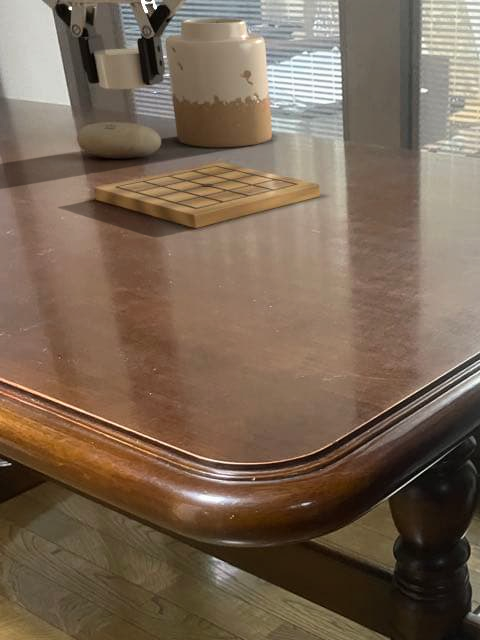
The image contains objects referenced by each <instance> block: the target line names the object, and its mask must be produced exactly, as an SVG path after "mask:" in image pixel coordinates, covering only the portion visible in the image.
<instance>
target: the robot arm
mask: <svg viewBox="0 0 480 640" xmlns="http://www.w3.org/2000/svg"><path fill="white" fill-rule="evenodd" d="M41 1H42V2H43V3H44V4H45V5H47V6H48V8H50V9H51V11H53V12H55V13H56V15H57V17H59V18H60V20H61V21H62V22H63V23H64V24H65V25H66V26H67V27H68V28H69V29H70V32H71V34H72V36H74V37H75V38H77V40H78V47H79V51H80V56H81V62H82V68H83V71H84V72H85V73H86V77H87V81H88V83H89V84H93V85H94V84H99V79H98V73H97V68H96V62H95V57H94V52H96V51H101V50H106V48H105V43H104V38H103V36H102V34H99V33H97V20H98V8H99V6H98V5H99V3H102V4H103V3H104V4H109V3H110V4H128V5H129V6H130V8H131V11H132V13H133V16H134V18H135V21H136V24H137V26H138V29H139V32H140V36H141V37H140V38H137V42H136V44H137V45H136V46H137V49H138V51H139V58H140V64H141V71H142V77H143V82H144V84H146V85H153V86H154V85H156V84H159V83H163V81H164V74H165V72H166V65H165V57H164V51H163V45H162V38H161V37H162V36H163V35H164V34H165V31H166V28H167V27H168V26H169V24H170V22H171V21H172V19H173V18H174V16H175V14H176V13H177V12H178V11H179V10H180V8H182V6H184V4H185V3H186V2H187V0H162V2H160V4H159V5H157V4H156V2H155V0H41Z"/></svg>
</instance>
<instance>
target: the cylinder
mask: <svg viewBox="0 0 480 640" xmlns="http://www.w3.org/2000/svg"><path fill="white" fill-rule="evenodd" d="M94 57H95V62H96V68H97V73H98V79H99V83H98V84H99V87H100V88H102V89H106V90H139V89H146V88H150V87H152V86H154V85H146V84H144V82H143V77H142V71H141V64H140V58H139V51H138V48H111V49H105V50H101V51H96V52H94Z"/></svg>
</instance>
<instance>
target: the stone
mask: <svg viewBox="0 0 480 640" xmlns="http://www.w3.org/2000/svg"><path fill="white" fill-rule="evenodd" d="M76 140H77V144H78V146H79V147H80V148H81V149H82V150H83V151H84V152H86V153H88V154H90V155H92V156H96V157H100V158H103V159H116V160H117V159H132V158H143V157H146V156H149V155H152V154H153V153H155V152H156V151H157V150H159V149H160V147H161V145H162V139H161V137H160V134H158V132H156V131H155V130H154V129H153V128H151V127H149V126H146V125H144V124H143V125H142V124H139V123H134V122H124V121H123V122H121V121H106V122H95V123H90V124H87V125H85V126H83V127H81V129H80V130H79V131H78V132H77V137H76Z"/></svg>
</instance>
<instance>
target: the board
mask: <svg viewBox="0 0 480 640" xmlns="http://www.w3.org/2000/svg"><path fill="white" fill-rule="evenodd" d="M320 189H321V187H320V184H319V183H315V182H311V181H306V180H302V179H298V178H294V177H293V178H292V177H288V176H283V175H279V174H274V173H270V172H265V171H261V170H257V169H252V168H248V167H247V168H246V167H244V166H243V167H242V166H238V165H233V164H229V163H228V164H227V163H223V162H219V161H217V162H212V163H206V164H201V165H197V166H193V167H192V166H191V167H187V168H181V169H178V170H173V171H172V170H171V171H168V172H163V173H162V172H161V173H158V174H153V175H148V176H143V177H138V178H132V179H128V180H124V181H118V182H114V183H113V182H112V183H108V184H103V185H97V186H93V194H94V198H95V200H96V201H99V202H103V203H107V204H110V205H113V206H116V207H121V208H124V209H127V210H131V211H134V212H138V213H141V214H145V215H148V216H152V217H155V218H158V219H162V220H166V221H168V222H173V223H176V224H180V225H183V226H186V227H190V228H194V229H198V228H202V227H206V226H210V225H214V224H218V223H221V222H225V221H230V220H234V219H237V218H242V217H246V216H248V215H253V214H256V213H260V212H264V211H268V210H272V209H276V208H280V207H284V206H287V205H291V204H295V203H299V202H304V201H307V200H311V199H314V198H318V197H320V196H321V190H320Z"/></svg>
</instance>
